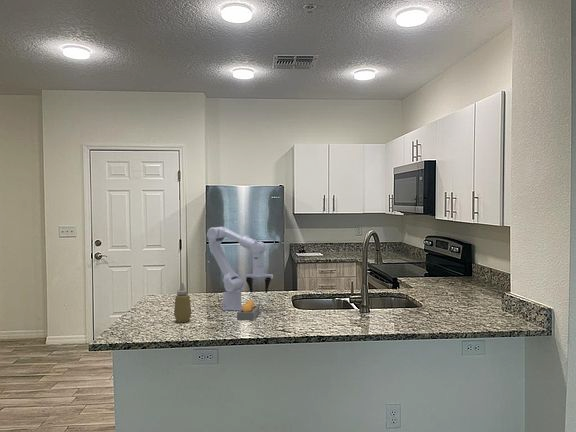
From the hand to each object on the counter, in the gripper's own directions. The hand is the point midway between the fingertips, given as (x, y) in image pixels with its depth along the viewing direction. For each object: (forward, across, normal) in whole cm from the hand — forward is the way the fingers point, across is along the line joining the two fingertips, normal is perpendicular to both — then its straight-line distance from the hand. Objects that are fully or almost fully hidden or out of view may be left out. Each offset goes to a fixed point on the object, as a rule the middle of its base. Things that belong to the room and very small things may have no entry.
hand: (259, 292), depth 231 cm
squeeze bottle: (+10, -32, -22) cm, 40 cm away
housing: (+9, -3, -11) cm, 15 cm away
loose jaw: (+9, -3, -14) cm, 17 cm away
